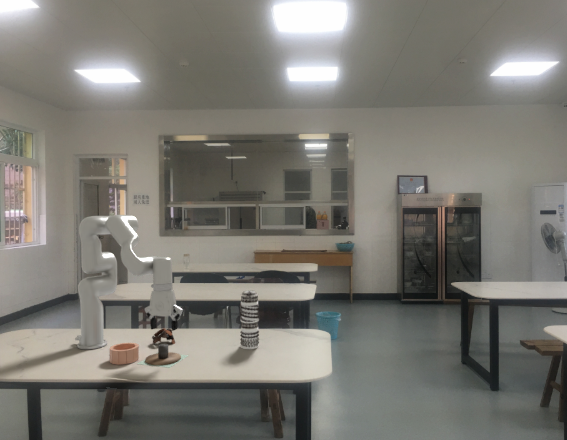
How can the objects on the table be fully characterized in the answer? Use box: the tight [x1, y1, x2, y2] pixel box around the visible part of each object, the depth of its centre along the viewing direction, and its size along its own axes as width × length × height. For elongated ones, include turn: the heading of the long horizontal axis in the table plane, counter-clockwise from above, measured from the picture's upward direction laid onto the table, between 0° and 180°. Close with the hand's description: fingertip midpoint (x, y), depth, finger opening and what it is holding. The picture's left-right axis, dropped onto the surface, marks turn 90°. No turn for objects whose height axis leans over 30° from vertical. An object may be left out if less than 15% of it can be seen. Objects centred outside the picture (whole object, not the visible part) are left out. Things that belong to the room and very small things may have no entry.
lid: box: [144, 343, 182, 365], centre depth 177 cm, size 14×14×6 cm
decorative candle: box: [238, 290, 260, 350], centre depth 195 cm, size 9×9×25 cm
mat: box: [136, 354, 189, 368], centre depth 177 cm, size 15×15×1 cm
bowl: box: [109, 342, 140, 366], centre depth 176 cm, size 11×11×6 cm
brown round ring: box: [151, 327, 176, 345], centre depth 201 cm, size 12×10×8 cm
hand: (164, 329), depth 176 cm, fingers open, 9 cm apart
